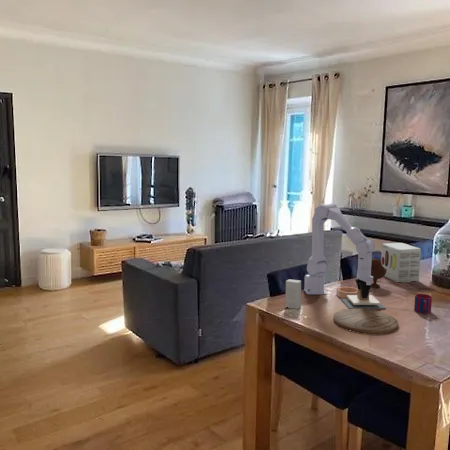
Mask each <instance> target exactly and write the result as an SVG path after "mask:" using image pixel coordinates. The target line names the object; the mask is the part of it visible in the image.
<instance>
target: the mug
mask: <svg viewBox="0 0 450 450" xmlns="http://www.w3.org/2000/svg"><path fill="white" fill-rule="evenodd" d="M432 300H433V297H432V295H430V294H426V293H416V294H415V295H414V308H413V310H414V312H415V313H418V314H424V315H427V314H431V313H432V302H433V301H432Z"/></svg>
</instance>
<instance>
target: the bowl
mask: <svg viewBox="0 0 450 450" xmlns="http://www.w3.org/2000/svg"><path fill="white" fill-rule="evenodd" d="M357 293H358V287H352V286H339V287H337V288H336V295H337V297H338V298H341V299H348V298H347V295H357Z"/></svg>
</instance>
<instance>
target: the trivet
mask: <svg viewBox="0 0 450 450" xmlns="http://www.w3.org/2000/svg"><path fill="white" fill-rule="evenodd" d="M332 317H333V318H332V321H333V322H334V324H335V326H337V325H338V327H339V328H341V327H342V329H343V328H344V329H343V330H346V329H347V330H346V331H349V330H351V331H350V332H352V331H355V332H354V333H357V332H359V333H358V334H363V333H366V335H385V334H390V333H392V332H395V331H396V330H397V329H398V328H399V321H398V319H397V318H396V317H394V316H393V315H391V314H389V313H386V312H382V311H378V310H376V309H348V308H346V309H340V310H338V311H335V312H334V314H333V316H332Z"/></svg>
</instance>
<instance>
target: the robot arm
mask: <svg viewBox="0 0 450 450" xmlns="http://www.w3.org/2000/svg"><path fill="white" fill-rule="evenodd" d="M311 219H312V220H311V256H309V259H308V260H307V261H308V263H307V266H306V271H307V274H305V275H304V284H303V285H304V287H303V291H304V292H305V294H306V295H327V292H326V291H325V278H326V277H325V275H326V272H328V269H329V265H328V261H327V257H326V256H325V255H324V252H325V250H324V247H325V246H324V245H325V244H324V241H325V240H324V238H325V237H324V236H325V235H324V234H325V232H324V229H325V228H324V227H325V223H326V222H327V221H328V220H333V221H334V222H336V223H337V224H338V225H339V226H340V227H341V228H342V229H343V230H344V231H345V232H346V237H347V238H348V239H349V240H350V241H351V242H352V244H353V245H354V246H355V250H356V252H357V256H358V259H357V272H356V278H355V279H354V281H355V283H356V287H357V288H358V289H361V294H362V298H367V297H368V294H369V295H370V291H371V289H372V288H371V287H372V286H373V282H372V280H373V276H371V262H372V259H373V252H374V250H375V243H374V241H373V240H372V239H370V238H369V239H368V237H367V236H366V235H364V234H363V233H362V232H361V229H360V227H359V228H358V227H356V226H352V224H351V223H350V222H349V221H348V219H347V218H346V216H345V215H344V214H343V213H342V212H341V208H339V207H338V205H336V203H328V204H327V203H326V204H320V205H317V207H315V208H314V214H313V216H312V217H311Z"/></svg>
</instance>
